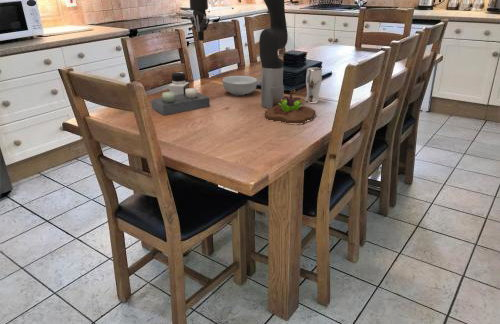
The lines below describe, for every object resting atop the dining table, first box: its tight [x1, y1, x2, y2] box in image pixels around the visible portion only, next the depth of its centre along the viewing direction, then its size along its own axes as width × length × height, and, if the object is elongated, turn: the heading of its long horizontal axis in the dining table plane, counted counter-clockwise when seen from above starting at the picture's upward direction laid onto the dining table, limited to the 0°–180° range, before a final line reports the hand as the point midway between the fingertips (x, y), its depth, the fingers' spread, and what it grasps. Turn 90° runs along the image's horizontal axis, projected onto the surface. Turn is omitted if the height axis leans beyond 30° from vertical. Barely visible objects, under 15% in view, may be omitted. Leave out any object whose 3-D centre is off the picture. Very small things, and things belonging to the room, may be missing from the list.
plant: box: [264, 88, 317, 124], centre depth 165 cm, size 20×20×11 cm
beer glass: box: [305, 66, 323, 102], centre depth 183 cm, size 7×7×15 cm
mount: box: [150, 91, 211, 116], centre depth 177 cm, size 12×22×4 cm, turn 125°
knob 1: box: [161, 91, 175, 103], centre depth 173 cm, size 5×5×7 cm
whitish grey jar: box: [185, 87, 198, 99], centre depth 179 cm, size 5×5×7 cm
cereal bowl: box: [222, 75, 258, 96], centre depth 197 cm, size 17×17×7 cm
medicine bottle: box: [168, 71, 190, 95], centre depth 188 cm, size 7×7×12 cm
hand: (200, 40), depth 177 cm, fingers closed
